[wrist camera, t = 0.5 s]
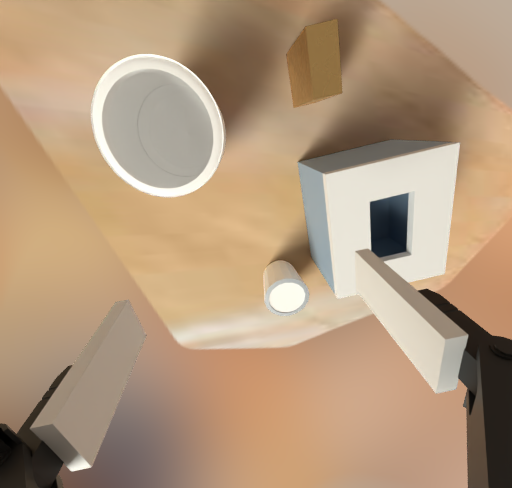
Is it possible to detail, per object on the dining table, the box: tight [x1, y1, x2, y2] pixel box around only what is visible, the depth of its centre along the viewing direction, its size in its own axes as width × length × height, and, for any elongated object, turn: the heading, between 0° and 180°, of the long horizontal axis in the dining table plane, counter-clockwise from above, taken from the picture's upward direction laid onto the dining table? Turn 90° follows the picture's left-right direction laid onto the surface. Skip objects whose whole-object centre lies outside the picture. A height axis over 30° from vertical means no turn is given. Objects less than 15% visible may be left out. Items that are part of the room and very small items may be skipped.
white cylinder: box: [263, 260, 309, 316], centre depth 41 cm, size 7×7×7 cm
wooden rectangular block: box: [286, 19, 342, 108], centre depth 28 cm, size 6×3×9 cm, turn 12°
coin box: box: [298, 139, 460, 299], centre depth 34 cm, size 16×14×12 cm
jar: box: [91, 54, 226, 197], centre depth 27 cm, size 11×10×15 cm
